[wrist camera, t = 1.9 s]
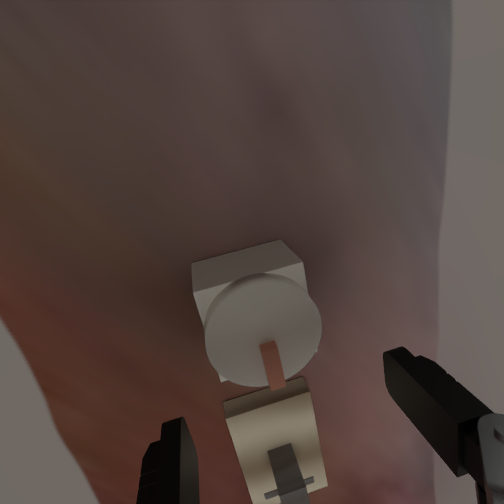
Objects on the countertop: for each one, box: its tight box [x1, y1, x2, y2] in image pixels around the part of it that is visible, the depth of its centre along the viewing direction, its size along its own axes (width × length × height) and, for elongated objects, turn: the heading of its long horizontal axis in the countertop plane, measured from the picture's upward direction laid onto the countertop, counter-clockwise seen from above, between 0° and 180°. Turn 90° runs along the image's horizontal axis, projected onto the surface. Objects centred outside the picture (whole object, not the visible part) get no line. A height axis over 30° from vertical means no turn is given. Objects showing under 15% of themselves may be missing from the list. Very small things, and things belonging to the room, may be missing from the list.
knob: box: [191, 239, 322, 391], centre depth 18 cm, size 6×6×6 cm
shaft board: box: [223, 377, 328, 504], centre depth 23 cm, size 10×6×5 cm, turn 12°
